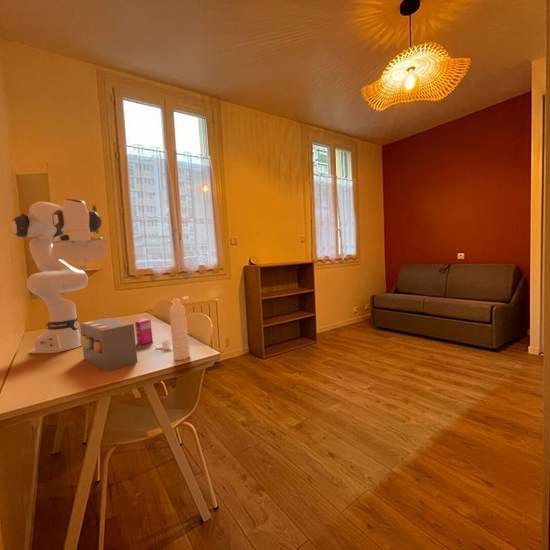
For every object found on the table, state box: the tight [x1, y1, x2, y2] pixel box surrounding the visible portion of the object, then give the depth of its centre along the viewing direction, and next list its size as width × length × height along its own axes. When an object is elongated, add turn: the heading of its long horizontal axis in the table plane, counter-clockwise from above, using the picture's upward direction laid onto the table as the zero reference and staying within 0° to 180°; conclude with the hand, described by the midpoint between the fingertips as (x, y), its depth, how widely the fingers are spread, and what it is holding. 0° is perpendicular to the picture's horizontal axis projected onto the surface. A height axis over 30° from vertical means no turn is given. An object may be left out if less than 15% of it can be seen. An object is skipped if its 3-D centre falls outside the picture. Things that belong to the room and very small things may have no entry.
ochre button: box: [80, 336, 87, 345], centre depth 131 cm, size 3×4×4 cm
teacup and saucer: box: [155, 339, 173, 353], centre depth 143 cm, size 9×8×4 cm
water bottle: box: [169, 296, 191, 361], centre depth 128 cm, size 9×6×25 cm
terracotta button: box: [93, 341, 101, 353], centre depth 120 cm, size 3×4×4 cm
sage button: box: [82, 339, 93, 350], centre depth 125 cm, size 3×4×4 cm
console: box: [79, 317, 138, 372], centre depth 130 cm, size 12×26×16 cm, turn 48°
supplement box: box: [134, 318, 154, 346], centre depth 155 cm, size 6×6×12 cm
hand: (82, 269), depth 133 cm, fingers closed
